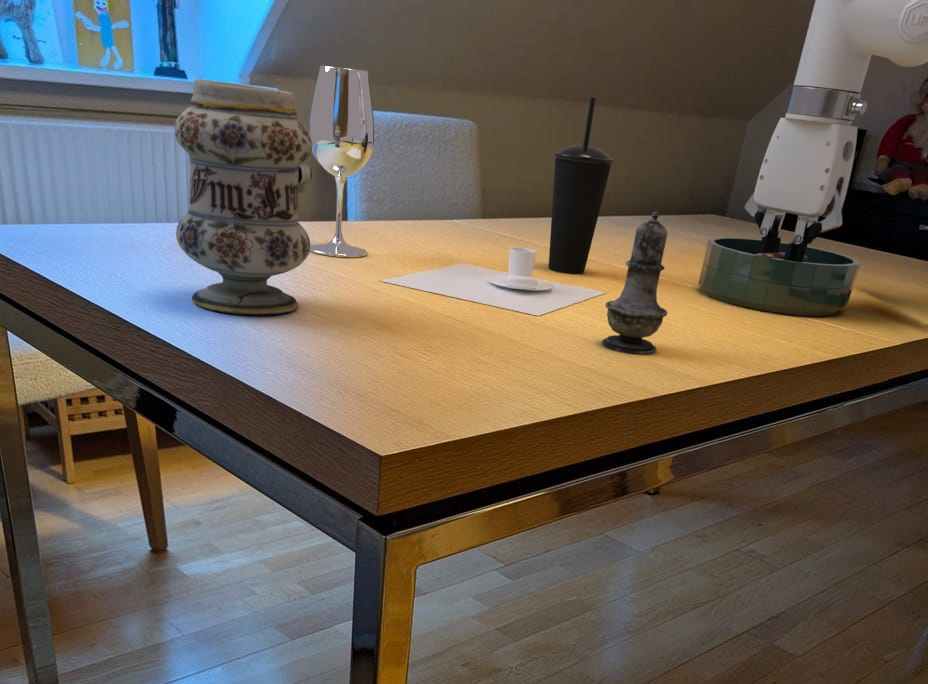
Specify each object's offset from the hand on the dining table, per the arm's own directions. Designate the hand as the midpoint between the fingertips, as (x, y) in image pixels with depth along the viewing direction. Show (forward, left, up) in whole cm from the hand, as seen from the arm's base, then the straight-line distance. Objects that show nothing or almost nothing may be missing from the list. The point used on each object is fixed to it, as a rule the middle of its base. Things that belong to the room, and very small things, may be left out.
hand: (775, 272), depth 116 cm
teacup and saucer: (+36, +11, -4) cm, 38 cm away
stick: (0, 0, 0) cm, 0 cm away
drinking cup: (+26, -6, -4) cm, 27 cm away
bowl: (0, 0, -3) cm, 3 cm away
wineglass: (+56, -1, -4) cm, 56 cm away
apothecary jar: (+61, +33, -4) cm, 69 cm away
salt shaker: (+24, +34, -4) cm, 42 cm away
